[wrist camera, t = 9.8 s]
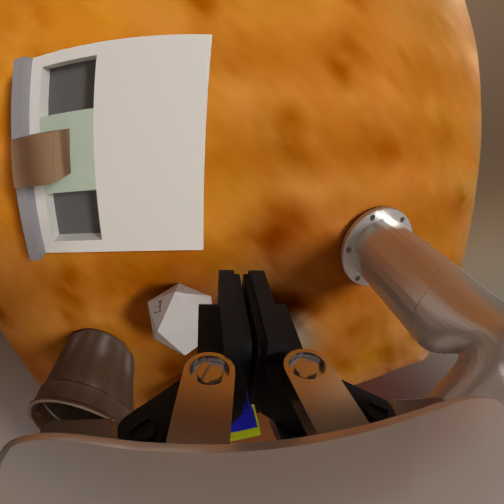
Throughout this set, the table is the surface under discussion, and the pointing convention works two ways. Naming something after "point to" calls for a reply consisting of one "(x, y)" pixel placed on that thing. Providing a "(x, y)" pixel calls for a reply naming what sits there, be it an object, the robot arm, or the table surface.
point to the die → (177, 317)
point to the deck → (117, 144)
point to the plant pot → (87, 381)
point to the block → (40, 158)
